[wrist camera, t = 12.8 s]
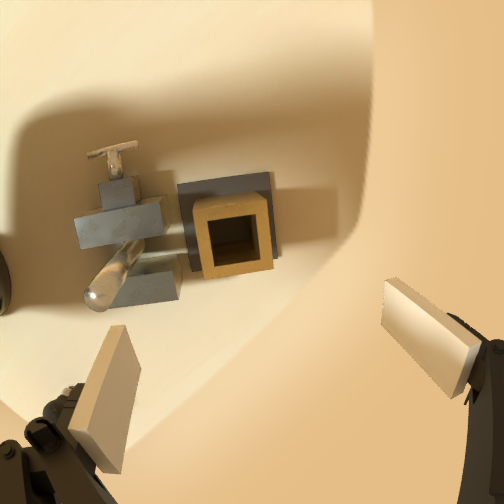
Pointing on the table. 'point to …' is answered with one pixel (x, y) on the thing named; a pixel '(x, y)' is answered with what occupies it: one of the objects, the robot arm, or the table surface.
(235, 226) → the mat
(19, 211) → the table surface
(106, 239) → the vise
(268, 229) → the open wooden box
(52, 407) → the light bulb
